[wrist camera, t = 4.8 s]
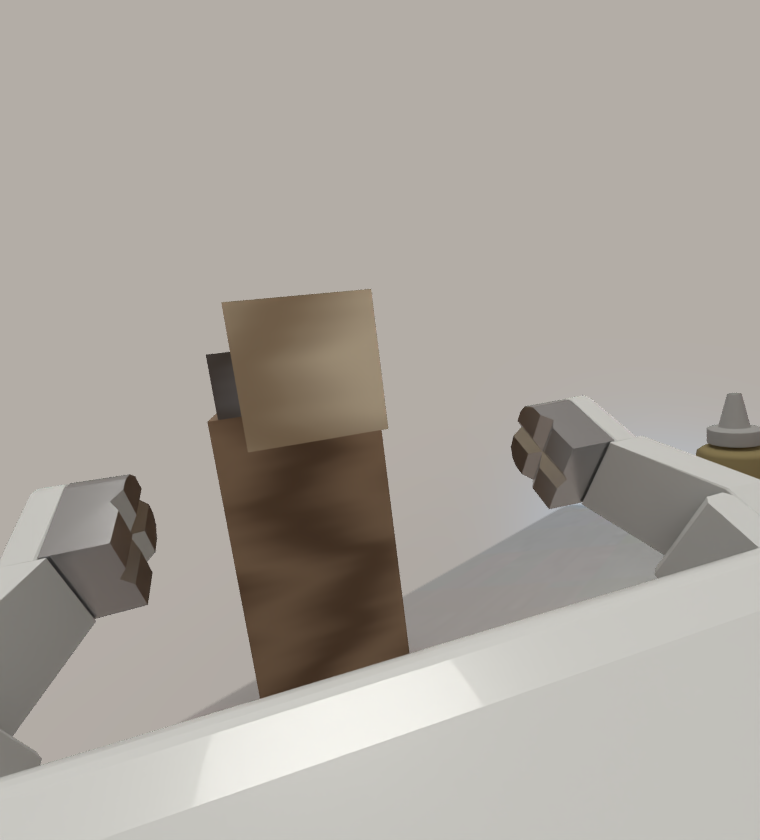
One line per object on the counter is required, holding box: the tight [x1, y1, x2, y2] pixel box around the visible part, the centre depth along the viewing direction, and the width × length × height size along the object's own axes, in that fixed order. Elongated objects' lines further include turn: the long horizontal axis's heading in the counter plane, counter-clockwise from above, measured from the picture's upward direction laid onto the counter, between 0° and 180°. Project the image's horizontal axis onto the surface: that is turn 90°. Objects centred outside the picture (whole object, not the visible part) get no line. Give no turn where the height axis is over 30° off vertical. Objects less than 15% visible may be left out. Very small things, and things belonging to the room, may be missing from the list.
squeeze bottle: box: [696, 393, 760, 479], centre depth 46 cm, size 8×8×18 cm
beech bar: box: [222, 289, 388, 452], centre depth 17 cm, size 3×18×3 cm, turn 15°
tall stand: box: [206, 352, 409, 699], centre depth 25 cm, size 7×12×28 cm, turn 15°
